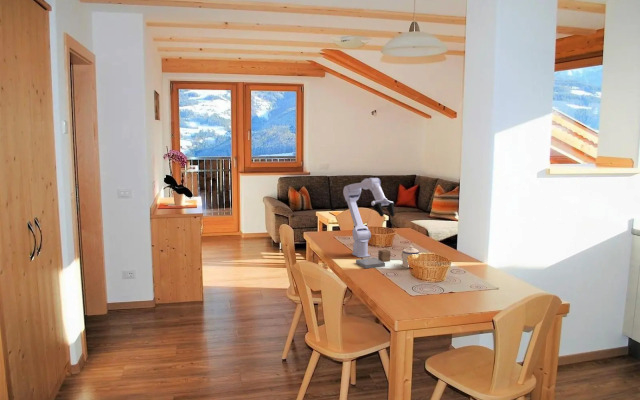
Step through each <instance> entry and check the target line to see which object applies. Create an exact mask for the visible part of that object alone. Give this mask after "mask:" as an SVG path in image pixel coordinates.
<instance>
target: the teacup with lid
mask: <svg viewBox="0 0 640 400" xmlns="http://www.w3.org/2000/svg"><path fill="white" fill-rule="evenodd" d="M412 254H420V251H419V250H418V249H417V248H415V247H414V246H413V245H409V246H408V247H407V248H404V249H402V252H401V259H402V267H403V268H406V269H410V268H409V267H408V262H407V257H408V256H409V255H412Z"/></svg>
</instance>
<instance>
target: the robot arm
mask: <svg viewBox="0 0 640 400" xmlns="http://www.w3.org/2000/svg"><path fill="white" fill-rule="evenodd" d="M381 183H382V181H381V179H380V178H378V177H369V178H364V179H363V180H361V182H356V183H351V184H347V185H345V186H344V187H343V193H342V194H343V198H344V200H345V202H346V204H347V206H348V209H349V213H350V216H351V218H352V222H353V225H354V228H353V229H352V231H351V232H352V238H353V239H352V240H353V241H354V242H353V246H352V247H353V248H352V250H353V252H352V253H351V255H353V256H355V257H357V258H365V257H368V258H369V257H371V255H370V254H369V253H368V252H369V250H368V247H369V245H368V243H369V242H370V241H369V240H370V239H371V237H372V233H371V231H370V229H369V227H368V226H367V225H365V224H364V223H363V220H362V216H361V214H360V210H359V208H358V204H357V201H358V200H359V199H360V197H361V193H362V189H363V190H369V191H371V193H372V196H373V197H374V200H372V201H371V206H372V209H373V210H374V211H375V212H376V213H378V215H379V216H380V217H381V218H383V217H384V216H385V214H384V210H383V208H382V207H384V206H387V207H386V208H385V210H387V211H388V213H389V215H390V217H392V218H393V217H394V216H395V214H396V213H395V202H394V201H391V200H388V198H386V196H385V194H384V191H383V188H382V186H381Z"/></svg>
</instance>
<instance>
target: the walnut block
mask: <svg viewBox="0 0 640 400" xmlns="http://www.w3.org/2000/svg"><path fill="white" fill-rule="evenodd" d="M377 255H378V257H377V259H378V260H380V261H382V262H384V263H385V262H391V250H388V249H387V248H386V249H379V250H378V254H377Z"/></svg>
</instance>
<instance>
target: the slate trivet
mask: <svg viewBox="0 0 640 400" xmlns="http://www.w3.org/2000/svg"><path fill="white" fill-rule="evenodd" d="M355 264H356V265H358V266H360V267H362V268H364V269H375V268H381V267H383V268H384V267H386V263H385V262H382V261H380V260H378V258H376V257H368V258H360V259H355Z"/></svg>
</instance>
